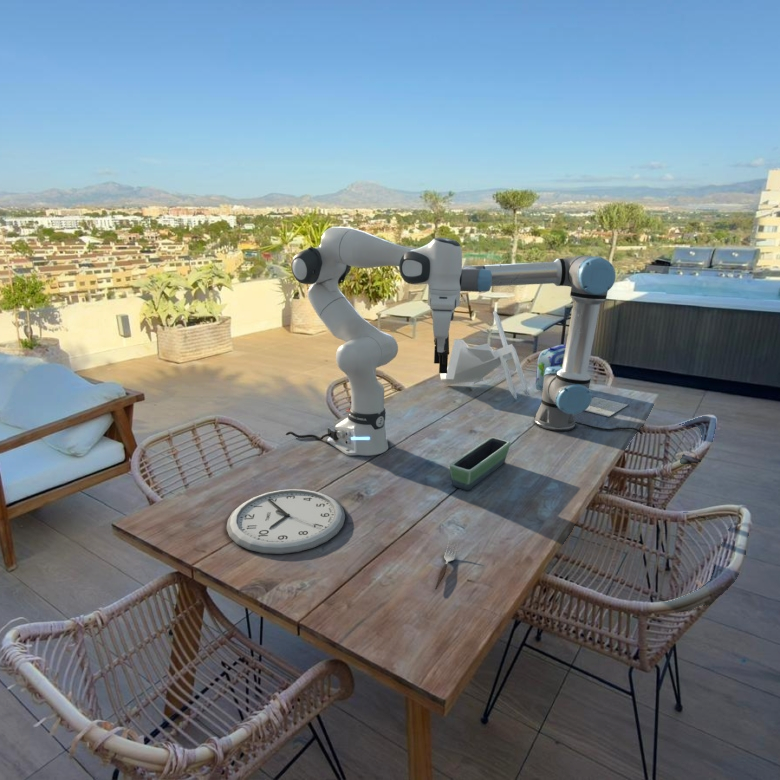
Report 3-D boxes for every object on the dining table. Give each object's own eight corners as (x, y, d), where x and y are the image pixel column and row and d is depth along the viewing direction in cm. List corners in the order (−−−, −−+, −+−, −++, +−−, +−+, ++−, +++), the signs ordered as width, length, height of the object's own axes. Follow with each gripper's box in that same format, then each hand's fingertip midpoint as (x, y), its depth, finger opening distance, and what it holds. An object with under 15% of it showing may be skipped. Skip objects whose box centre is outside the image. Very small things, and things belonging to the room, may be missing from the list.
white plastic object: (461, 429, 252) (437, 405, 227) (444, 352, 274) (420, 323, 250) (535, 404, 240) (518, 377, 215) (510, 326, 262) (492, 293, 237)
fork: (429, 589, 110) (429, 581, 109) (447, 548, 124) (448, 541, 124) (441, 592, 109) (441, 584, 108) (458, 550, 123) (459, 543, 123)
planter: (489, 456, 175) (491, 436, 173) (509, 462, 171) (511, 441, 169) (447, 486, 154) (448, 464, 152) (468, 494, 150) (470, 471, 148)
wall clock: (345, 545, 122) (213, 550, 119) (345, 551, 122) (214, 556, 120) (344, 484, 150) (238, 487, 148) (345, 490, 151) (239, 492, 148)
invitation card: (608, 416, 214) (573, 407, 224) (608, 416, 214) (573, 408, 224) (628, 404, 229) (594, 396, 238) (628, 405, 229) (594, 397, 238)
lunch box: (552, 397, 237) (557, 352, 231) (531, 392, 245) (535, 348, 238) (579, 386, 255) (584, 344, 249) (558, 381, 262) (563, 340, 256)
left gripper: (434, 294, 155) (432, 340, 159) (430, 303, 135) (427, 355, 140) (455, 295, 154) (453, 341, 158) (454, 304, 135) (451, 357, 139)
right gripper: (427, 303, 191) (425, 359, 198) (436, 314, 168) (434, 377, 174) (448, 303, 192) (445, 359, 198) (460, 314, 168) (456, 377, 174)
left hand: (441, 348), depth 149 cm, fingers open, 8 cm apart
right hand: (440, 368), depth 186 cm, fingers open, 13 cm apart
